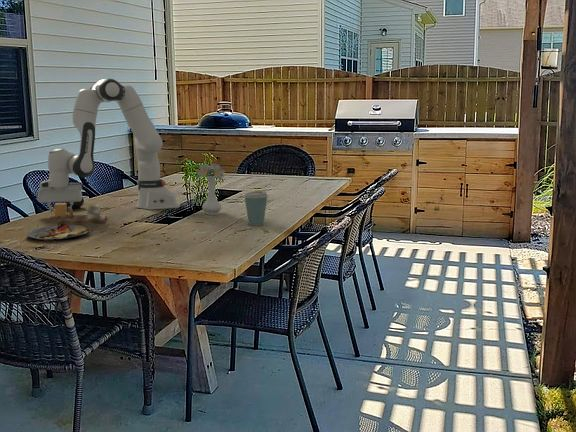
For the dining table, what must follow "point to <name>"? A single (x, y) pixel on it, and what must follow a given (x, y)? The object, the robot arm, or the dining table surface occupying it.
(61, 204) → the tan wooden cube
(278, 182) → the dining table surface
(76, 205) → the end cap
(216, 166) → the flower vase
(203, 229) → the dining table surface
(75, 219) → the peg board
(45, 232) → the food plate
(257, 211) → the disposable coffee cup
